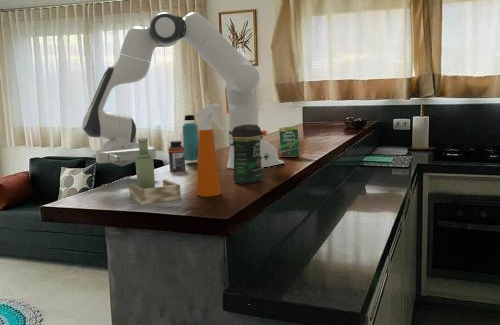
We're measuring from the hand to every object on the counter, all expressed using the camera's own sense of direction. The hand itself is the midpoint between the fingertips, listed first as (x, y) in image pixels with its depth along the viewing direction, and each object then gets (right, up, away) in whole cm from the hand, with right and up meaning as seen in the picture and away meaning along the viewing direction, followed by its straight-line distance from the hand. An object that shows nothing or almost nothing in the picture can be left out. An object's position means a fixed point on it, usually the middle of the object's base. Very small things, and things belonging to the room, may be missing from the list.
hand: (132, 157), depth 163 cm
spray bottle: (+28, -11, -21) cm, 37 cm away
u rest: (+12, -12, -22) cm, 28 cm away
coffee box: (+56, 0, +47) cm, 73 cm away
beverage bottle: (+15, -2, +42) cm, 45 cm away
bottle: (+7, -10, -9) cm, 15 cm away
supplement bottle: (+12, -5, +24) cm, 28 cm away
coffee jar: (+39, -8, -3) cm, 39 cm away
